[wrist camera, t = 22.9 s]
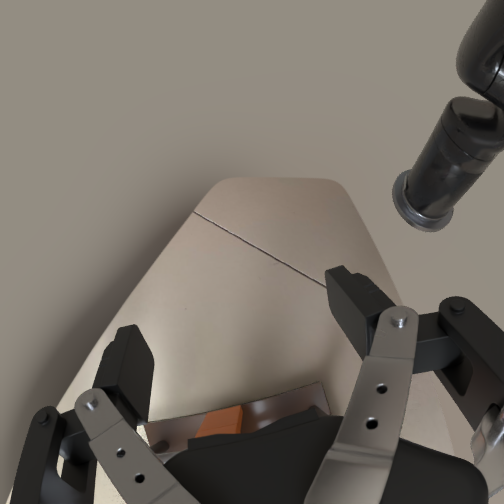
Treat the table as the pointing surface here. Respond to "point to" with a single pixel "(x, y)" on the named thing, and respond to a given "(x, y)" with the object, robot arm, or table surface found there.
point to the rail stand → (254, 418)
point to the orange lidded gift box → (221, 422)
